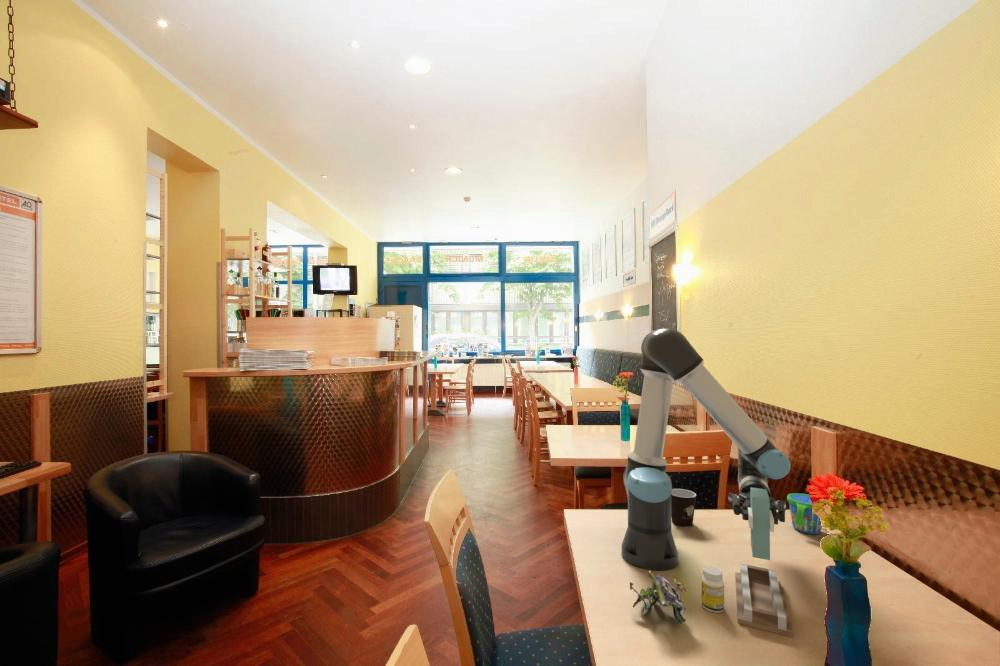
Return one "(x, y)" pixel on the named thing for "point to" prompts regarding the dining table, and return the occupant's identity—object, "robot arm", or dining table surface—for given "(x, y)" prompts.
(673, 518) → the coffee mug
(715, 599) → the supplement bottle
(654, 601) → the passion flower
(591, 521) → the dining table surface
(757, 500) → the teal rectangular block
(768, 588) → the track
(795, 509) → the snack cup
